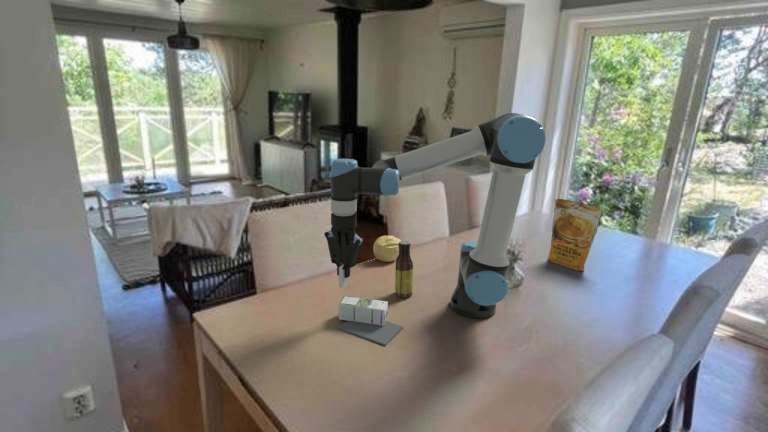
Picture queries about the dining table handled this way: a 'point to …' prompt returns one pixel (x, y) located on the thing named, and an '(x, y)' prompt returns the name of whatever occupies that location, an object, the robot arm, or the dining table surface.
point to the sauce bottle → (404, 271)
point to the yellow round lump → (386, 248)
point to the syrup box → (363, 310)
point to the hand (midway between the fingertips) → (343, 285)
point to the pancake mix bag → (573, 233)
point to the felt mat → (373, 331)
